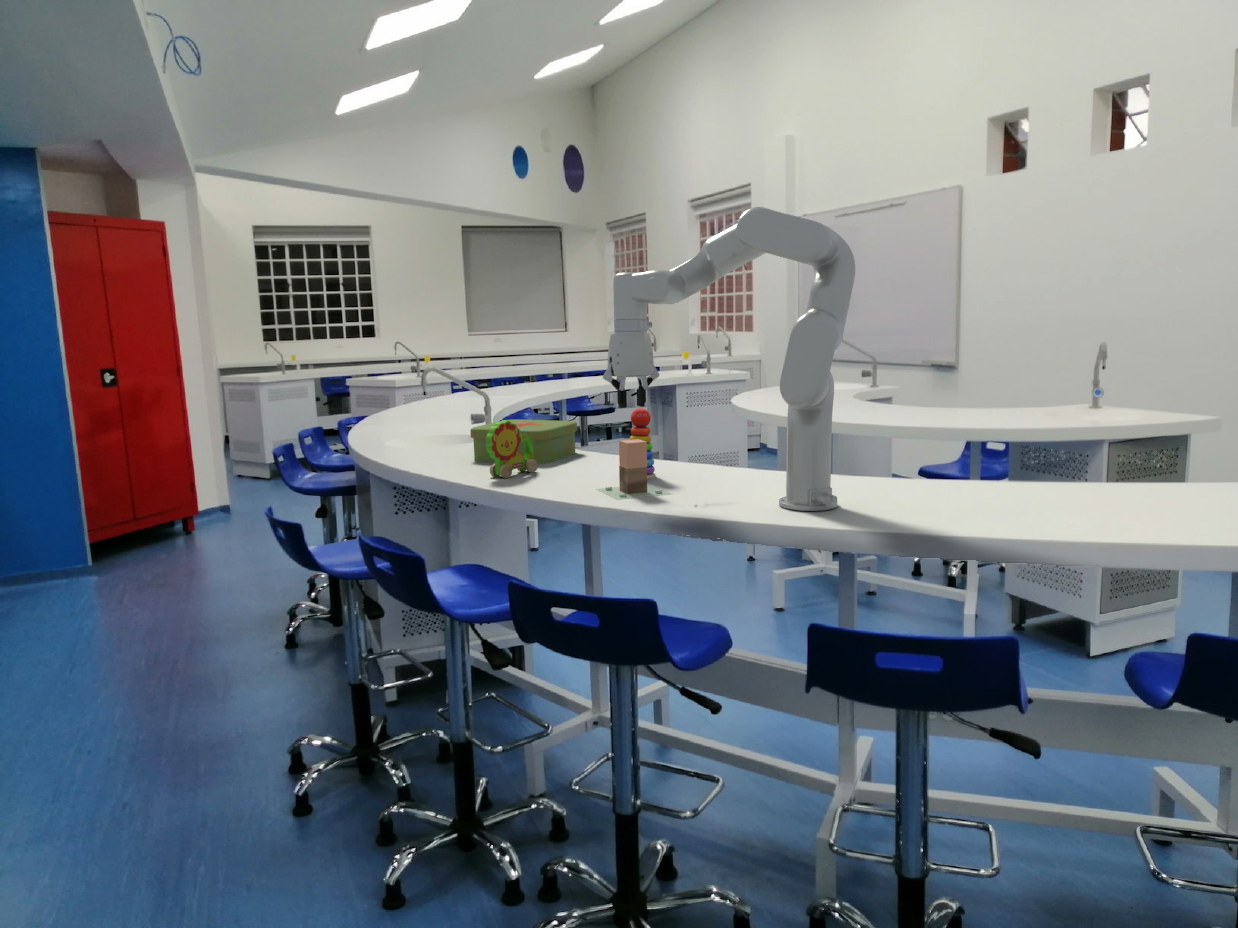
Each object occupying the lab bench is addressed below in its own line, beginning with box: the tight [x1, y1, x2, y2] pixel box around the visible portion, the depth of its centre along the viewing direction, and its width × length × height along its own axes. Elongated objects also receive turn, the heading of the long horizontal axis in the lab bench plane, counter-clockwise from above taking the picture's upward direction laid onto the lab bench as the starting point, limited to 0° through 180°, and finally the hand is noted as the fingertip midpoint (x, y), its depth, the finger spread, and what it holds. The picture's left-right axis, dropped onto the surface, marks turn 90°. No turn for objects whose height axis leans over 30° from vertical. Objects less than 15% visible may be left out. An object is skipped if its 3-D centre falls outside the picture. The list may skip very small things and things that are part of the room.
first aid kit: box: [470, 419, 578, 465], centre depth 273 cm, size 26×26×10 cm
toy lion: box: [486, 419, 539, 479], centre depth 239 cm, size 16×5×15 cm, turn 141°
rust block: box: [618, 439, 647, 469], centre depth 208 cm, size 5×5×6 cm
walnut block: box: [618, 465, 648, 494], centre depth 209 cm, size 5×5×6 cm
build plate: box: [595, 483, 673, 501], centre depth 209 cm, size 14×14×2 cm
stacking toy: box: [629, 407, 657, 480], centre depth 226 cm, size 8×8×19 cm
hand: (631, 406), depth 206 cm, fingers open, 3 cm apart
